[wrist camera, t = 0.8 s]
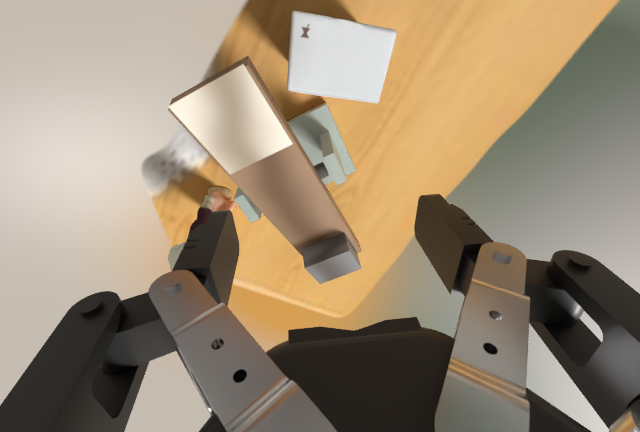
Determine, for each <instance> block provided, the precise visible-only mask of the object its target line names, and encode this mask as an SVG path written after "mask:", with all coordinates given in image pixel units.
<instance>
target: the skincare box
mask: <svg viewBox="0 0 640 432" xmlns="http://www.w3.org/2000/svg"><path fill="white" fill-rule="evenodd" d="M396 34H397V32H396V31H395V30H393V29H389V28H383V27H378V26H373V25H368V24H363V23H357V22H353V21H350V20H345V19H338V18H333V17H329V16H323V15H318V14H312V13H307V12H301V11H296V10H295V11H293V12H292V20H291V35H290V49H289V63H288V78H287V89H288V91H293V92H299V93H305V94H311V95H318V96H326V97H334V98H342V99H349V100H356V101H364V102H371V103H378V102H379V98H380V95H381V91H382V87H383V84H384V80H385V76H386V72H387V68H388V65H389V61H390V58H391V54H392V50H393V46H394V42H395V38H396Z"/></svg>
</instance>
